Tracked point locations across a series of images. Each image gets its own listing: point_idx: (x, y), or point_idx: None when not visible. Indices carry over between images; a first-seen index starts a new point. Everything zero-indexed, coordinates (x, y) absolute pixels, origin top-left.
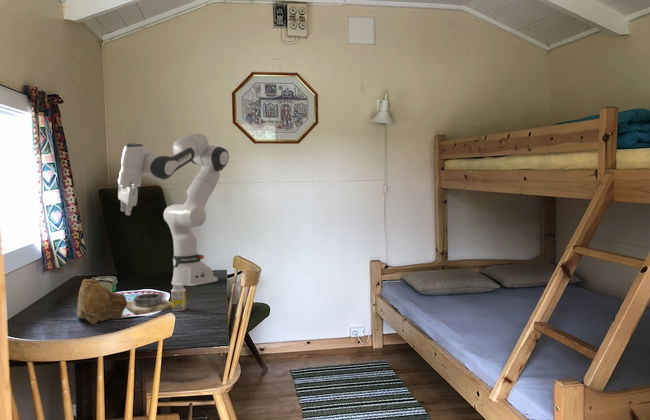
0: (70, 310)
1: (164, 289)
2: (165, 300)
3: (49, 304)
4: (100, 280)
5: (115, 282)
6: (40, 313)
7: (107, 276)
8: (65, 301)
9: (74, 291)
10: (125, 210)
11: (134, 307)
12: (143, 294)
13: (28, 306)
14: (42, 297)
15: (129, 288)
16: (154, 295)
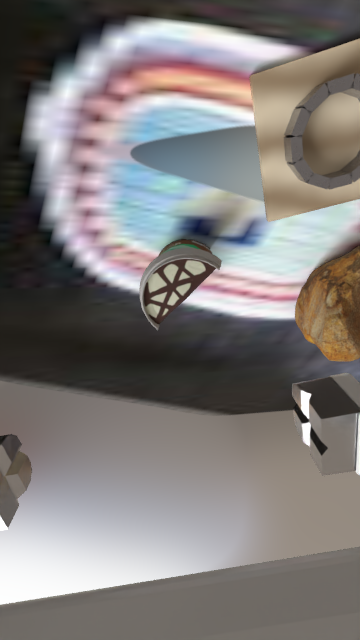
0: (240, 335)
1: (61, 41)
2: (319, 60)
3: (157, 373)
4: (181, 302)
5: (211, 256)
6: (234, 381)
7: (145, 284)
8: (140, 348)
9: (28, 336)
10: (1, 447)
11: (350, 187)
12: (294, 153)
13: (159, 402)
14: (79, 388)
15: (14, 190)
16: (315, 107)
